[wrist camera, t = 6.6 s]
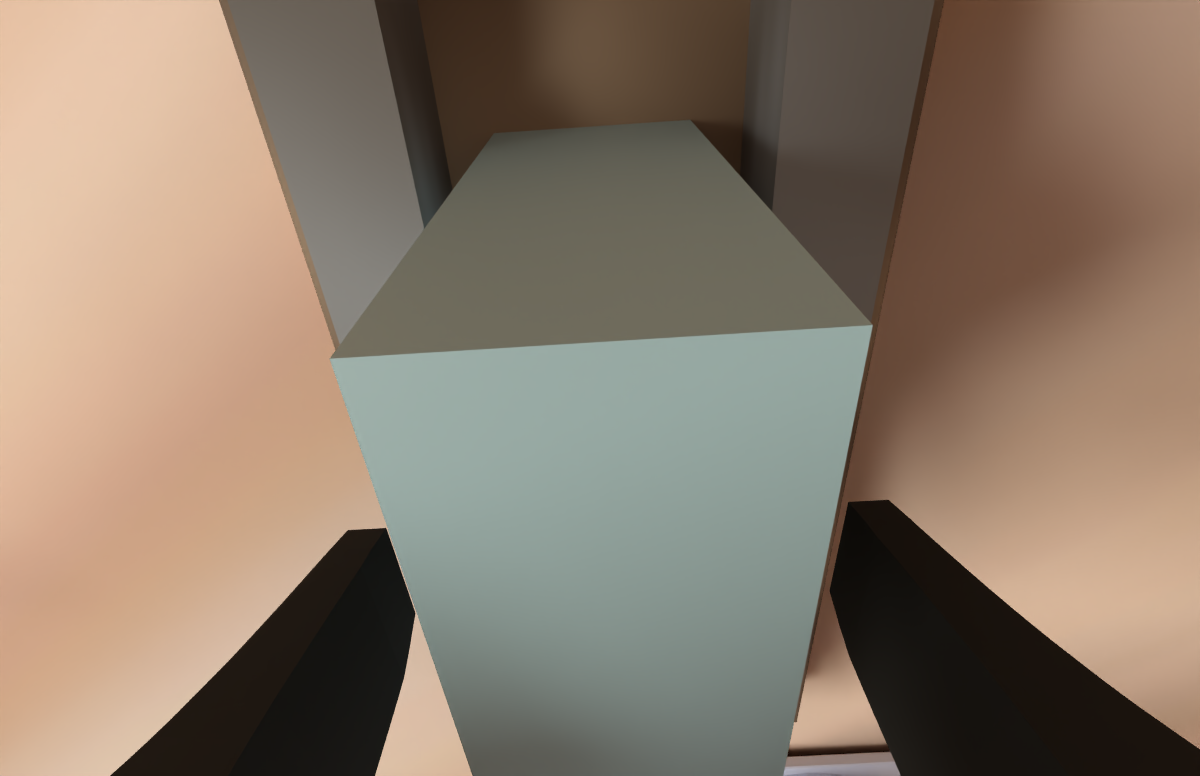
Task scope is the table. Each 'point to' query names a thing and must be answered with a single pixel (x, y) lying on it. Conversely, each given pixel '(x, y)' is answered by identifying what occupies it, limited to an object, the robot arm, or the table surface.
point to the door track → (585, 115)
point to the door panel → (610, 452)
